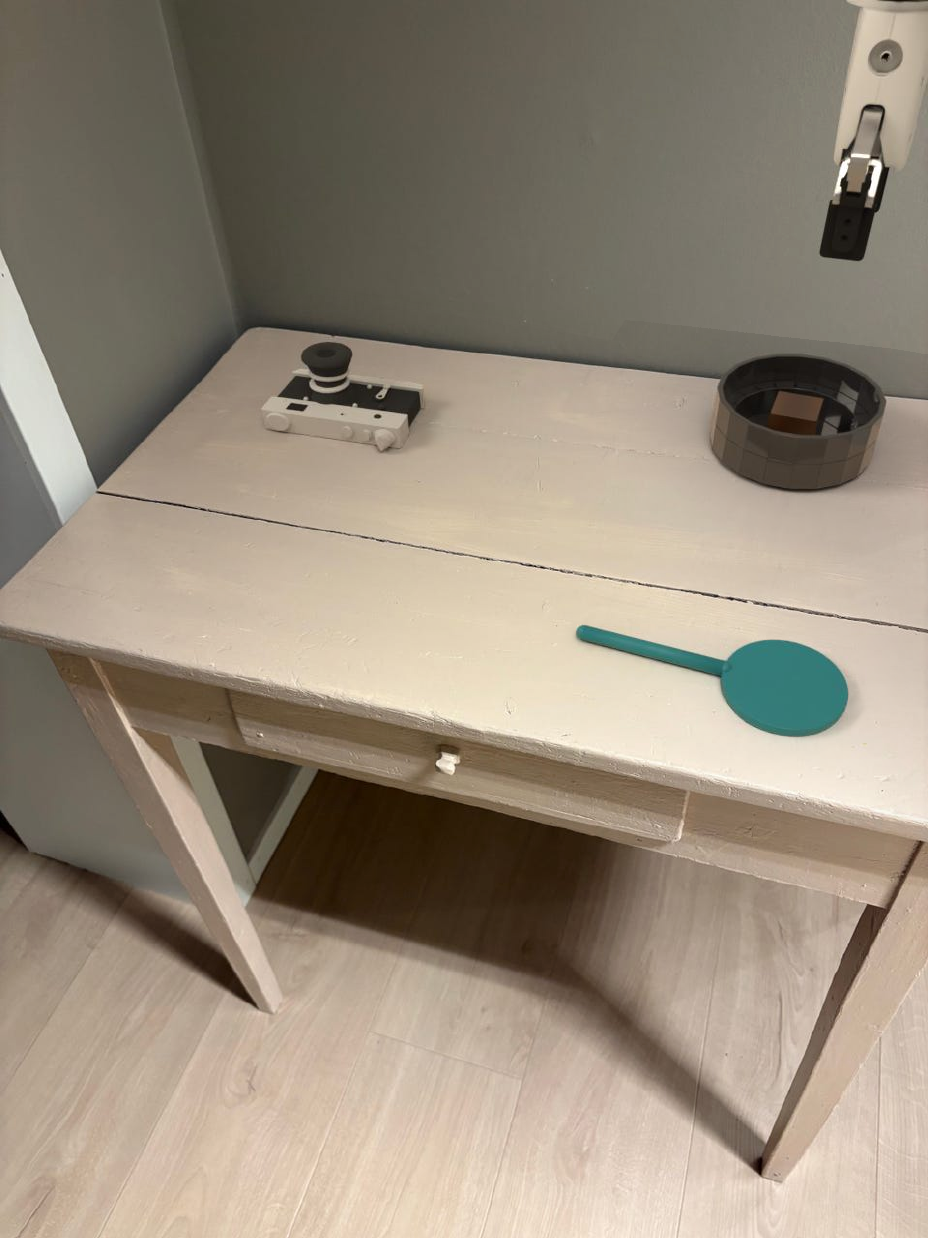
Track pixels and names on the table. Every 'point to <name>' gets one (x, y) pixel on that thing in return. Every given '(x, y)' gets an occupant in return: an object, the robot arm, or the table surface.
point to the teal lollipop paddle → (758, 680)
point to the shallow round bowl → (793, 457)
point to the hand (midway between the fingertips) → (849, 232)
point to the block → (795, 413)
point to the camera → (343, 401)
